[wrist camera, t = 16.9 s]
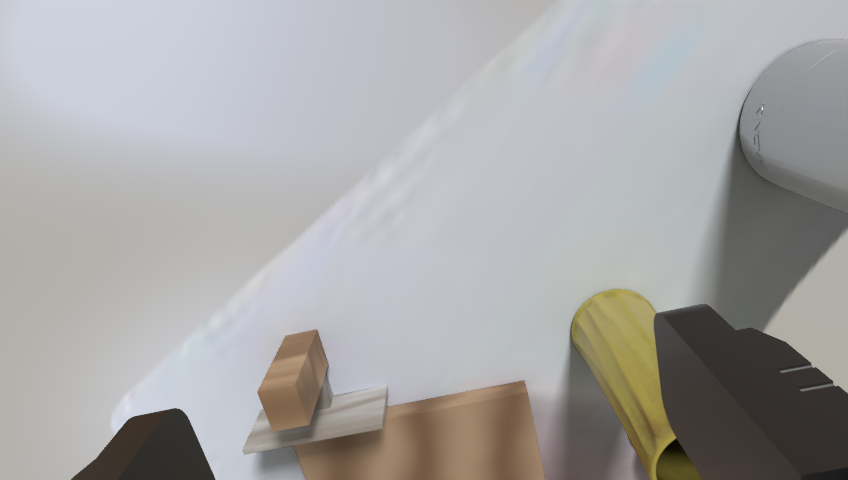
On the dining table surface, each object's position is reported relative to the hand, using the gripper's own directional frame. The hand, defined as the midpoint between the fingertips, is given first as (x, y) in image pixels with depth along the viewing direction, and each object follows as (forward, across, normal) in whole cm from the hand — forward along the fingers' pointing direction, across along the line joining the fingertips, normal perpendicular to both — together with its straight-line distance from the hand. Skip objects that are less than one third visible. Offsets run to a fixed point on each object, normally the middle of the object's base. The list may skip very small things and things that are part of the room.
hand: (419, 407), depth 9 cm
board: (+28, +6, +28) cm, 40 cm away
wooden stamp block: (+28, +12, +14) cm, 34 cm away
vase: (+28, -10, +16) cm, 34 cm away
